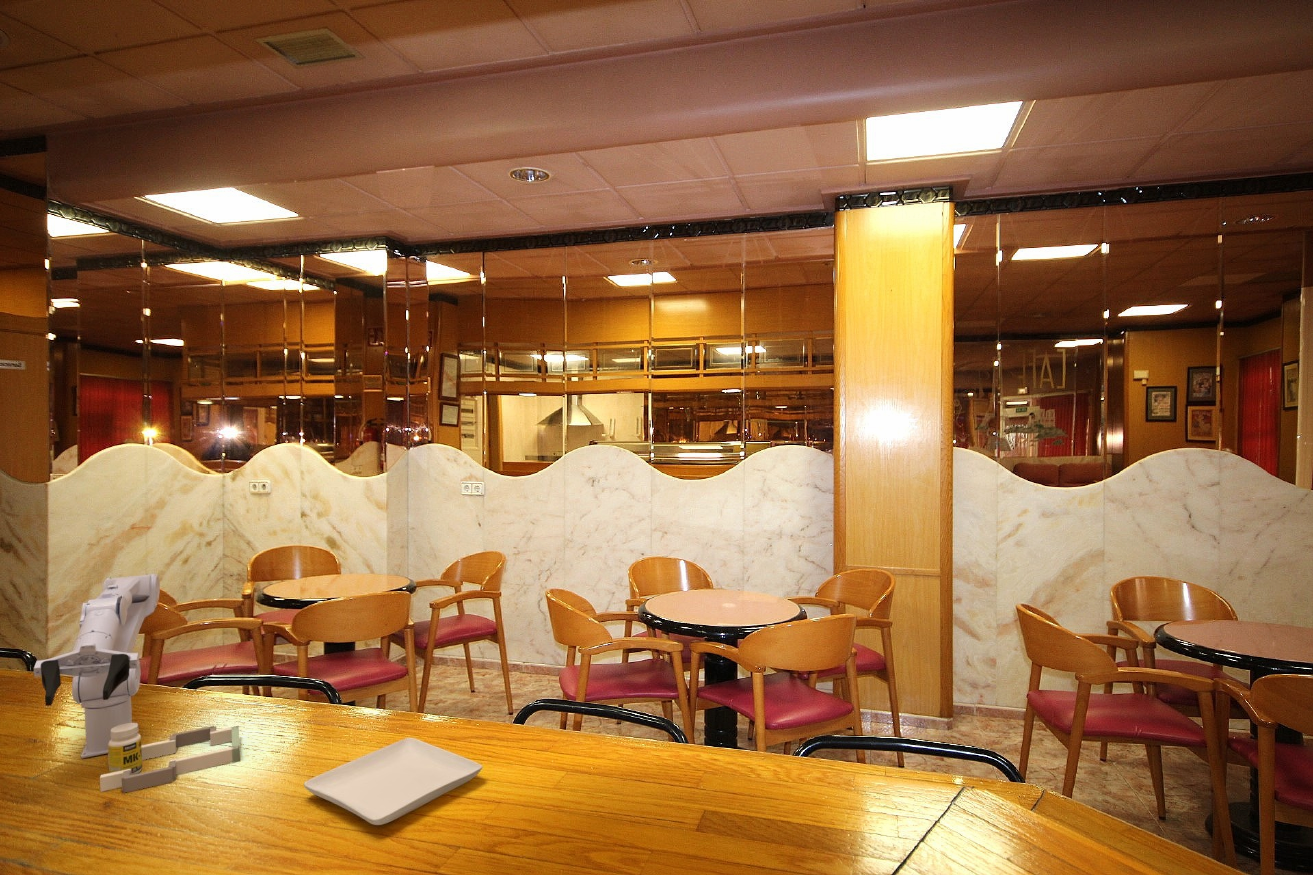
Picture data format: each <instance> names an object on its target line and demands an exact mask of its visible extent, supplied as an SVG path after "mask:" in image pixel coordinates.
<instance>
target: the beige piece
mask: <svg viewBox="0 0 1313 875" xmlns="http://www.w3.org/2000/svg"><path fill="white" fill-rule="evenodd" d="M239 729H240V727H239V725H236V726H231V727H226V728H221V729H217V726H215V725H210V726H206V727H201V728H195V729H190V730H186V731H181V732H176V733H172V734H170V735H169V739H166V740H162V741H161V740H160V741H157V742H156V741H155V742H153V743H148V744H141V750H142V761H146V759H147V760H150V759H149V758H152V759H154V758H155V757H156V758H160V756H161V757H163V756H162V755H166V756H170V755H169V754H171V755H174V754H173V753H175V754H177V748H180V747H184V746H185V745H186V746H190V745H195V744H199V742H200V743H205V742H209V740H210V743H209V744H210V747H212V745H213V746H217V745H222V743H223V744H226V743H225V742H227V743H231V746H229V747H226V748H221V749H216V750H211V751H206V752H201V753H197V754H193V755H188V756H183V757H179V758H175V759H170V760H169V762H168V766H167V767H166V766H165V767H161V768H158V769H154V770H149V771H144V772H139V773H137V774H134V775H131V769H127V770H122V771H117V772H113V773H109V772H108V773H104V774H101V775H100V777H99V784H100V785H99V787H100V788H99V790H100V792H101V793H102V792H105V791H111V790H115V789H120V788H121V793H124V794H125V793H126V792H127V793H130V792H134V791H139V789H140V790H143V788H144V789H148V787H149V788H153V787H156V786H161V784H162V785H165V783H166V784H170V782H171V783H173V782H174V781H176V779H177V775H182V774H186V773H191V772H195V771H200V770H203V769H204V768H205V769H209V768H212V767H218V766H222V764H223V765H226V764H231V763H230V762H232V763H234V762H235V763H236V762H240V761H241V753H240V730H239ZM231 741H232V742H231ZM107 755H108V756H107V757H108V758H107V760H108V761H107V762H109V753H107ZM156 758H155V759H156ZM205 769H204V770H205ZM172 781H173V782H172ZM152 786H153V787H152Z"/></svg>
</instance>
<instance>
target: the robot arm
mask: <svg viewBox="0 0 1313 875" xmlns="http://www.w3.org/2000/svg"><path fill="white" fill-rule="evenodd" d="M160 581H161V580H160V577H159V575H158V574H157V573H155V572H154V573H151V574H140V575H131V576H122V577H121V576H120V577H107V578H106V579H105V580H104V581H103V584H102V591H101V593H100V594H99V595H97V597H96V598H93V599H89V600H88V601H87V602H83V603H82V605H81V611H80V619H79V622H78V624H79V631H78V634H77V637H76V639H75V642H74V646H73V648H72V651H71V652H67V653H63V654H60V655H57V656H54V657H51V658H48V659H47V658H46V659H40V660H36V662H35V664H34V667H33V674H34V675H33V676H34V678H39V677H41V684H42V686H43V687H42V688H43V689H44V691H45V696H44V703H45V706H46V707H49V706H52V704H53V703H54V699H55V695H56V693H57V691H58V689H59V688H60V687H61V685H62V681H61V680H62V679H61V675H65V676H70V677H71V676H72V683H71V694H72V699H73V701H74V702H75V703H76V704H81V705H80V707H81V709H83V710H84V728H85V729H84V730H85V746H84V747H83V750H82V752H81V754H80V758H81V759H85V758H90V757H95V756H101V755H104V754H106V755H107V754H109V749H108V744H109V741H110V740H111V729H112V728H114V727H116V726H118V725H121V724H125V723H133V719H132V718H133V716H132V713H133V712H132V697H133V696H135V695H136V693H138V691H139V688H140V684H141V675H142V674H141V673H142V672H141V662H140V659H139V656H140V655H139V652H133V650H134V646H135V645H136V644H135V643H136V642H137V641H136V640H137V639H138V636H139V633H140V629H141V628H142V625H143V622H144V620H145V619H146V618H147V617H148V616H150V615H152V614H153V613H154V612H155V609H156V608H157V605H158V603H159V600H160V594H161V593H160V591H161V588H160V587H161V585H160V584H161V583H160Z"/></svg>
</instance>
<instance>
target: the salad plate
mask: <svg viewBox="0 0 1313 875" xmlns="http://www.w3.org/2000/svg"><path fill="white" fill-rule="evenodd" d="M483 768H484V767H483V765H482V764H480V763H479V762H476V761H474V760H471V759H469V758H466V757H464V756H462V755H460V754H457V753H454V752H451V751H449V750H447V749H443V748H441V747H438V746H436V745H433V744H430V743H427V742H425V741H423V740H420V739H417V738H414V737H406V738H404V739H403V738H402V739H401V740H399V741H396V742H393V743H391V744H389V745H386V746H384V747H382V748H379V749H377V750H374V751H372V752H370V753H367V754H366V755H365V754H364V755H362V756H360V757H358V758H356V759H354V760H353V759H352V760H351V761H348V762H347V763H344V764H342V765H339V766H337V767H335V768H333V769H330V770H327V771H325V772H323V773H321V774H319V775H317V776H314V777H312V778H310V779H308V780H306V781H305V782H303V787H304V788H305V789H306V790H307V791H308V792H310V793H312V794H313V795H315V796H318V797H320V798H322V799H324V800H326V801H328V802H331V803H332V804H335V805H337V806H339V807H341V808H342V809H345V810H346V811H349V813H350V812H351V813H352V814H354V815H355V816H357V817H360V818H361V819H363V820H365V821H366V822H367V823H369V824H371V825H374V826H382V825H386V824H388V823H390V822H393V821H395V820H397V819H399V818H401V817H403V816H404V815H407V814H409V813H410V812H413V811H415V810H417V809H419V808H420V807H422V806H425V805H426V804H428V803H430V802H432V801H433V800H436V799H437V798H439V797H440V796H442V795H445V794H446V793H448V792H450V791H453V790H454V789H456V788H458V787H461V786H462V785H464V784H465V783H468V782H469V781H471V780H472V779H473V778H475V777H477V776H478V774H479V773H480V772H481V770H482V769H483Z"/></svg>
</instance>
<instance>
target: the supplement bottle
mask: <svg viewBox="0 0 1313 875" xmlns="http://www.w3.org/2000/svg"><path fill="white" fill-rule="evenodd" d="M139 730H140V729H139V724H138V723H137V722H132V723H125V724H121V725H118V726H116V727H114V728H112V729H111V740H110V741H109V744H108V749H109V753H108V754H109V761H108V768H109V770H108V773H113V772H117V771H122V770H127V769H131V775H134V774H139V773H141V771H142V770H143V760H142V750H141V745H142V735H141V734H140V733H139Z"/></svg>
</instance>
